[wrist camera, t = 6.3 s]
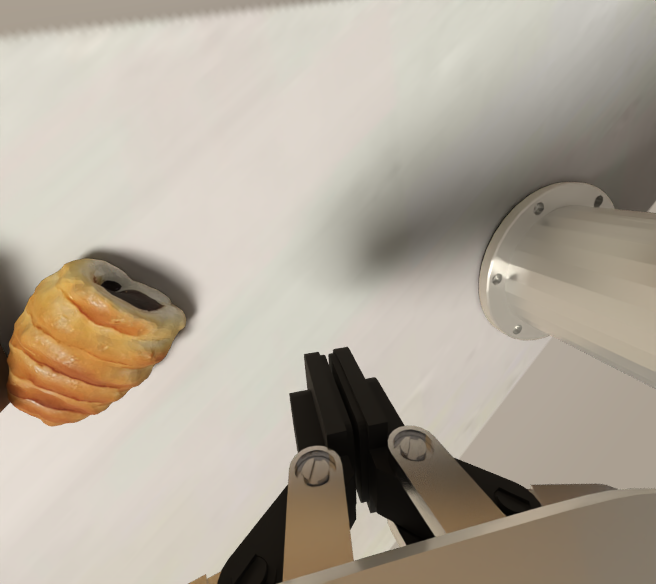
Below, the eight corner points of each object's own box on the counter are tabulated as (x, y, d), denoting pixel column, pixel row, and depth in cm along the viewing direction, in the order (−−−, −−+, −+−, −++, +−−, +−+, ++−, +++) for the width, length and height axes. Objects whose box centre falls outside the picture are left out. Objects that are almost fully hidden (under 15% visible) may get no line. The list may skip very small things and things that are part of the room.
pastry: (111, 420, 20) (87, 471, 17) (-16, 376, 18) (-75, 425, 14) (196, 305, 19) (189, 334, 16) (77, 238, 17) (37, 255, 13)
